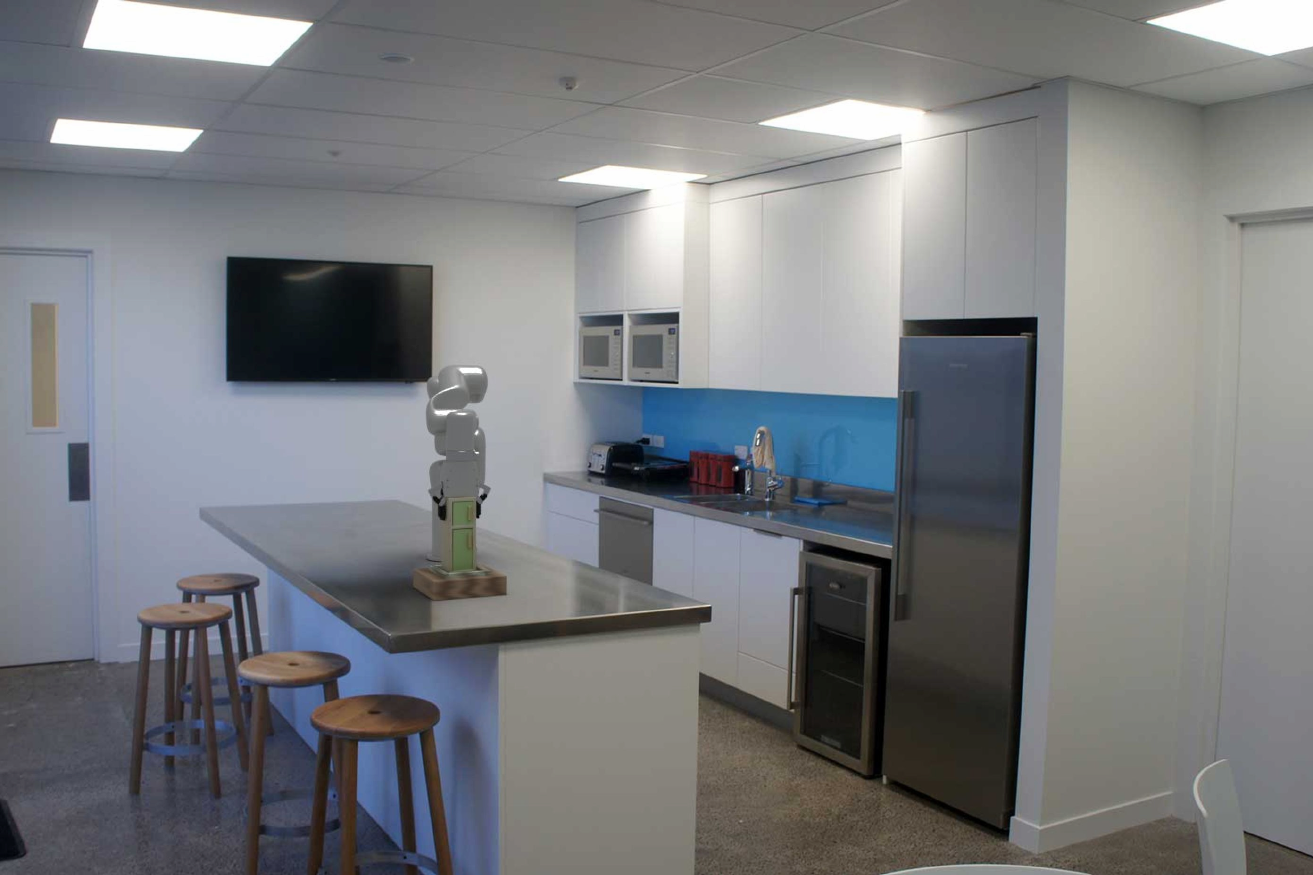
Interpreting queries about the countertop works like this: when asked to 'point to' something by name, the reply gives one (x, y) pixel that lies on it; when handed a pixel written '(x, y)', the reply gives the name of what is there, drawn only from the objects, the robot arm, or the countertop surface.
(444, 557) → the toy refrigerator
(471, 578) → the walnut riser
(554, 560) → the countertop surface
